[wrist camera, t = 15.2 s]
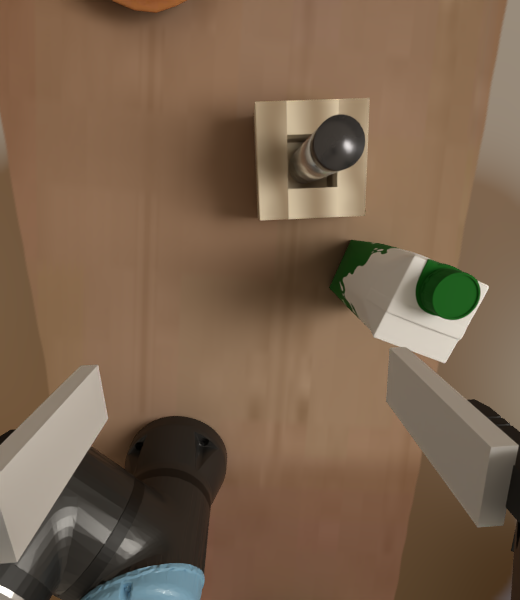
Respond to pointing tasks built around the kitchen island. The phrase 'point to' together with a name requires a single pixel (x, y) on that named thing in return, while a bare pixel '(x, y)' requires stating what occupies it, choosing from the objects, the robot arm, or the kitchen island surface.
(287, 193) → the birch socket block
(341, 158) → the steel peg
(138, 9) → the pie
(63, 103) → the kitchen island surface
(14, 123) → the kitchen island surface
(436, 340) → the milk carton
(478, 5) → the kitchen island surface
